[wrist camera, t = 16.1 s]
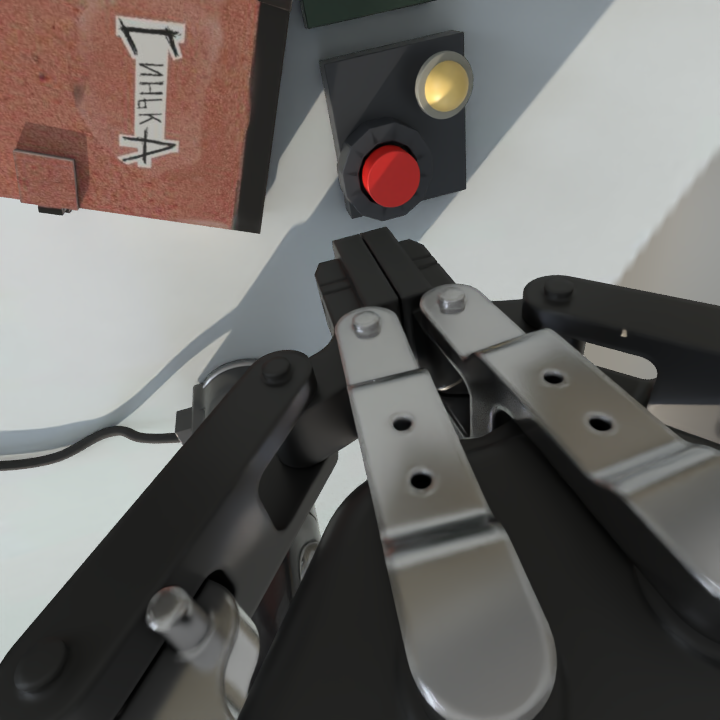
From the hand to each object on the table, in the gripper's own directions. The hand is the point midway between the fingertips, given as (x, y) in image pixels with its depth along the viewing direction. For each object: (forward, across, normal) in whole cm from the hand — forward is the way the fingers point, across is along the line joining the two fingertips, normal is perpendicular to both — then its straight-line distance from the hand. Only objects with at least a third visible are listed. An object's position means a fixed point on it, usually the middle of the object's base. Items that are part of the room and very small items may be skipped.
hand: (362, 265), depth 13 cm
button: (+23, -7, +6) cm, 25 cm away
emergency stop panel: (+27, -9, +4) cm, 29 cm away
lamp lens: (+23, -12, +1) cm, 26 cm away
